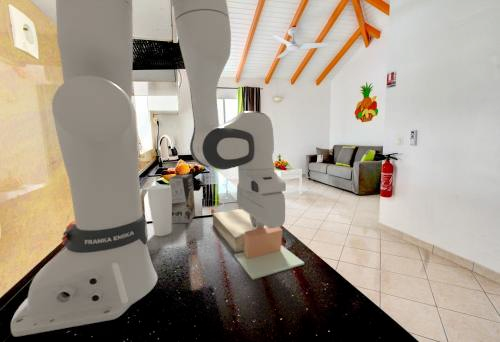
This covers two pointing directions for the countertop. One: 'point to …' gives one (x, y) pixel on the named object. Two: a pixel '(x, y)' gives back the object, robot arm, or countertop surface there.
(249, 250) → the peach brick
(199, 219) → the countertop surface
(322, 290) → the countertop surface
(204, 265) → the countertop surface
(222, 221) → the beige block
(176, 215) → the coffee box
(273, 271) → the mat
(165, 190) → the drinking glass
